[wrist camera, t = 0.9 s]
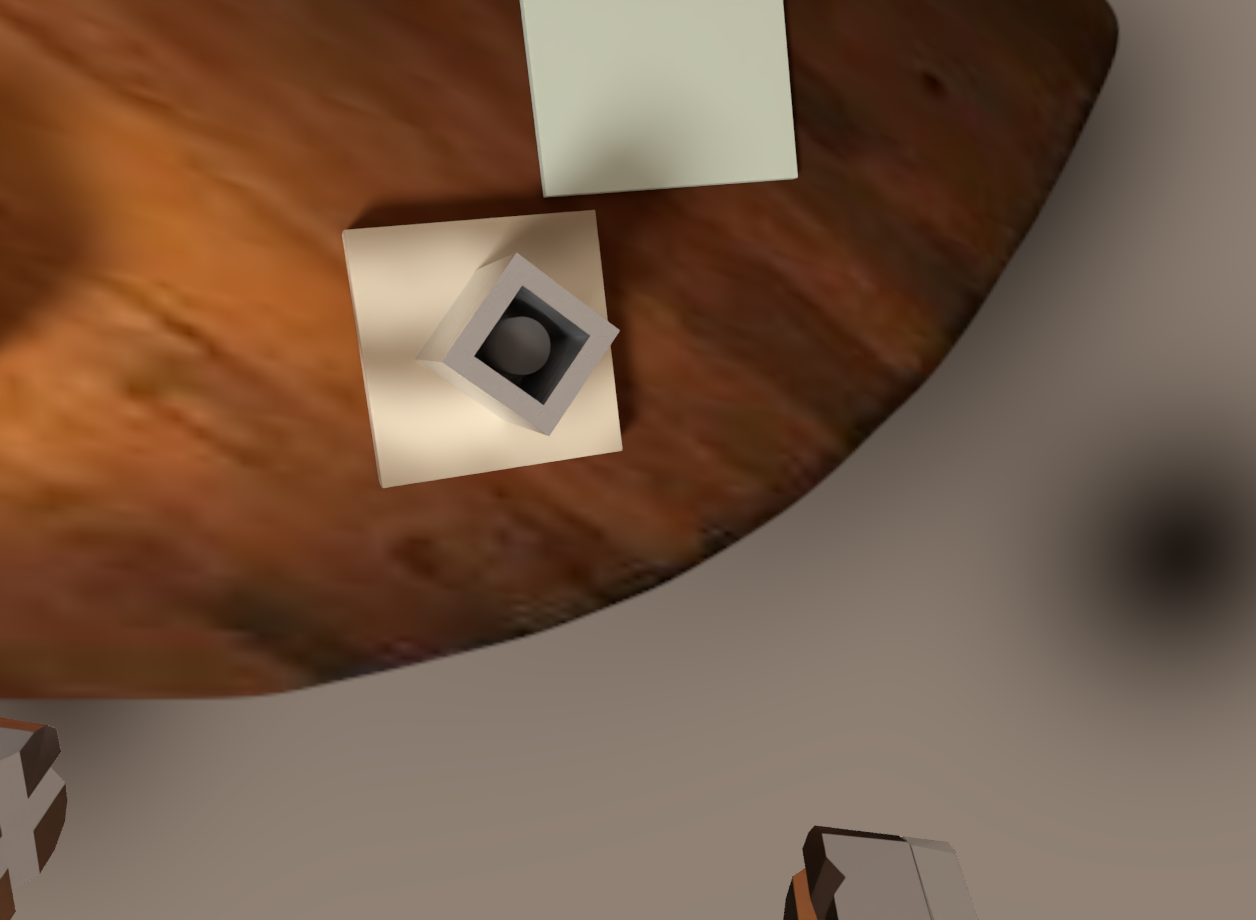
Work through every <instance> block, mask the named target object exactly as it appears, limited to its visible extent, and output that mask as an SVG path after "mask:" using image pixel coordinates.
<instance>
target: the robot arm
mask: <svg viewBox="0 0 1256 920" xmlns="http://www.w3.org/2000/svg"><path fill="white" fill-rule="evenodd" d="M60 753H61V749H60V744H59V739H58V734H57V729H56V728H53V727H51V726H48V725H44V724H38V723H32V722H25V721H19V720H13V719H6V718H0V920H11V918H12V917H13V915H14V914H15V912H16V910H15V905H14V900H13V893H12V891H13V890H14V889H16V888H18V887H19V886H21V885H23V884H24V883H26V882H28V881H29V880H31V879H32V878H34V877H36V876H37V875H39V874H40V873H41V871H42V870H43V868H44V866H45V865H46V863H47V862H48V860H49V858H50V857H51V855H52V853H53V852H54V850H55V848H56V845H57V842H58V839H59V836H60V834H61V831H62V828H63V826H64V822H65V818H66V808H67V792H66V783H65V782H64V781H63V780H62V779H61V778H60V777H59V776H58V775H57V774H56V773H55V772H54V770H53V769H51V766H52V764H53V763H54V761H55V760H56V758H57V757H58V756H59V754H60ZM802 850H803V856H804V863H805V869H803V870H802V871H800V872H799V873H797V874H796V875H794V876H793V877H792V879H791V883H790V886H789V889H788V892H787V896H786V900H785V908H784V917H783V920H978V917H977V914H976V911H975V908H974V905H973V902H972V899H971V896H970V894H969V890H968V887H967V885H966V882H965V879H964V876H963V873H962V870H961V867H960V864H959V862H958V858H957V855H956V852H955V850H954V849H953V848H952V847H951V845H950V844H949V843H948V842H943V841H935V840H927V839H919V838H911V837H900V836H897V835H889V834H881V833H873V832H864V831H856V830H848V829H839V828H831V827H823V826H814V827H813V828H812V829H811V830H810V831H809V833H808V835H807V837H806V840H805V843H804V845H803V848H802Z"/></svg>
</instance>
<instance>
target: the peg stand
mask: <svg viewBox="0 0 1256 920" xmlns="http://www.w3.org/2000/svg"><path fill="white" fill-rule="evenodd" d="M342 238H343V245H344V251H345V258H346V265H347V271H348V278H349V285H350V291H351V298H352V304H353V311H354V318H355V324H356V331H357V338H358V344H359V351H360V358H361V364H362V371H363V378H364V384H365V391H366V398H367V404H368V411H369V417H370V424H371V431H372V437H373V444H374V451H375V457H376V464H377V471H378V477H379V483H380V485H381V486H382V488H386V487H393V486H399V485H405V484H412V483H418V482H424V481H431V480H437V479H444V478H450V477H456V476H463V475H469V474H476V473H482V472H488V471H495V470H501V469H507V468H514V467H520V466H527V465H533V464H539V463H546V462H552V461H558V460H565V459H571V458H578V457H584V456H590V455H597V454H603V453H609V452H616V451H622V442H621V433H620V425H619V416H618V407H617V398H616V389H615V381H614V372H613V363H612V354H611V345H610V346H609V348H608V349H607V351H606V352H605V354H604V355H603V357H602V358H601V360H600V361H599V363H598V364H597V366H596V367H595V369H594V370H593V372H592V373H591V375H590V376H589V378H588V379H587V381H586V382H585V384H584V385H583V387H582V388H581V390H580V391H579V393H578V394H577V396H576V397H575V399H574V400H573V402H572V403H571V404H570V406H569V407H568V409H567V410H566V412H565V413H564V415H563V416H562V418H561V419H560V421H559V422H558V424H557V425H556V427H555V428H554V430H553V431H552V433H551V434H550V436H547V435H544V434H541V433H538V432H535V431H532V430H529V429H526V428H523V427H521V426H518V425H515V424H512V423H509V422H506V421H504V420H502V419H501V418H499V417H498V416H497V415H495V414H494V413H492V412H491V411H489V410H488V409H486V408H485V407H483V406H482V405H480V404H479V403H478V402H476V401H475V400H473V399H472V398H470V397H469V396H467V395H466V394H464V393H463V392H462V391H460V390H459V389H457V388H456V387H454V386H453V385H451V384H450V383H448V382H447V381H445V380H444V379H443V378H441V377H440V376H438V375H437V374H435V373H434V372H432V371H431V370H429V369H428V368H427V367H425V366H424V365H422V364H421V363H419V362H418V361H416V360H415V359H416V357H417V356H418V354H419V353H420V351H421V350H422V348H423V347H424V345H425V344H426V343H427V341H428V340H429V338H430V337H431V335H432V334H433V332H434V331H435V330H436V328H437V327H438V325H439V324H440V322H441V321H442V319H443V318H444V317H445V315H446V314H447V312H448V311H449V309H450V308H451V306H452V305H453V303H454V302H455V301H456V299H457V298H458V296H459V295H460V293H461V292H462V290H463V289H464V288H465V286H466V285H467V283H468V282H469V280H470V279H471V277H472V276H473V274H474V273H475V272H476V270H477V269H479V268H482V267H484V266H486V265H489V264H491V263H493V262H496V261H498V260H500V259H503V258H505V257H507V256H510V255H512V254H514V253H518V254H519V255H521V256H522V257H523V258H525V259H526V260H527V261H529V262H530V263H531V264H533V265H534V266H535V267H537V268H538V269H539V270H541V271H542V272H543V273H545V274H546V275H547V276H548V277H550V278H551V279H552V280H554V281H555V282H556V283H558V284H559V285H560V286H562V287H563V288H564V289H566V290H567V291H568V292H570V293H571V294H572V295H574V296H575V297H576V298H578V299H579V300H580V301H582V302H583V303H584V304H586V305H587V306H588V307H590V308H591V309H592V310H594V311H595V312H596V313H597V314H599V315H600V316H601V317H603V318H604V319H605V320H607V321H608V319H607V310H606V301H605V293H604V284H603V275H602V266H601V257H600V249H599V240H598V231H597V222H596V213H595V210H587V211H574V212H562V213H549V214H537V215H524V216H512V217H499V218H487V219H474V220H462V221H449V222H437V223H424V224H412V225H400V226H387V227H375V228H362V229H350V230H344V231H343V234H342ZM549 353H550V339H549V336H548V333H547V331H546V330H545V328H544V327H543V326H542V325H541V324H540V323H539V322H537V321H536V320H534V319H531V318H528V317H515V318H511V317H509V316H508V315H507V314H505V313H503V314H502V316H501V317H500V319H499V320H498V322H497V323H496V325H495V326H494V327H493V329H492V330H491V332H490V333H489V335H488V336H487V338H486V339H485V341H484V342H483V344H482V345H481V346H480V348H479V349H478V351H477V352H476V354H475V355H474V357H476V358H477V359H479V360H480V361H481V362H483V363H484V364H486V365H487V366H489V367H490V368H491V369H493V370H494V371H496V372H497V373H499V374H500V375H501V376H503V377H504V378H506V379H507V380H508V381H510V380H511V378H512V377H513V375H514V374H518V375H527V374H531V373H533V372H536V371H537V370H539V369H540V368H541V367H542V366H543V365H544V364H545V362H546V361H547V359H548V356H549Z"/></svg>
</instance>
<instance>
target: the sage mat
mask: <svg viewBox="0 0 1256 920" xmlns="http://www.w3.org/2000/svg"><path fill="white" fill-rule="evenodd" d="M520 7H521V15H522V24H523V32H524V40H525V48H526V57H527V65H528V73H529V81H530V90H531V98H532V106H533V115H534V123H535V131H536V139H537V148H538V156H539V164H540V173H541V181H542V189H543V197H544V198H547V197H560V196H574V195H587V194H600V193H614V192H627V191H640V190H654V189H667V188H680V187H693V186H707V185H720V184H733V183H747V182H760V181H773V180H786V179H794V178H797V177H798V174H797V162H796V150H795V138H794V126H793V114H792V102H791V90H790V79H789V67H788V55H787V43H786V31H785V19H784V7H783V0H520Z"/></svg>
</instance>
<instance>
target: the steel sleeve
mask: <svg viewBox="0 0 1256 920" xmlns="http://www.w3.org/2000/svg"><path fill="white" fill-rule="evenodd" d="M503 313H505V314H507V315H508V316H509V317H511V318H515V317H528V318H531V319H534V320H536V321H537V322H539V323H540V324H541V325H542V326H543V327H544V328H545V330H546V331H547V333H548V336H549V339H550V353H549V356H548V359H547V361H546V362H545V364H544V365H543V366H542V367H541V368H540V369H539V370H537V371H536V372H533V373H531V374H527V375H518V374H514V375H513V377H512V378H511V380H510V381H508V380H507V379H506V378H504V377H503V376H501V375H500V374H499V373H497V372H496V371H494V370H493V369H491V368H490V367H489V366H487V365H486V364H484V363H483V362H481V361H480V360H479V359H477V358H476V357H474V355H475V354H476V352H477V351H478V349H479V348H480V346H481V345H482V344H483V342H484V341H485V339H486V338H487V336H488V335H489V333H490V332H491V330H492V329H493V327H494V326H495V325H496V323H497V322H498V320H499V319H500V317H501V316H502V314H503ZM619 331H620V330H619V329H617V328H616V327H615V326H613V325H612V324H611V323H609V322H608V321H607V320H605V319H604V318H603V317H601V316H600V315H599V314H597V313H596V312H595V311H594V310H592V309H591V308H590V307H588V306H587V305H586V304H584V303H583V302H582V301H580V300H579V299H578V298H576V297H575V296H574V295H572V294H571V293H570V292H568V291H567V290H566V289H564V288H563V287H562V286H560V285H559V284H558V283H556V282H555V281H554V280H552V279H551V278H550V277H548V276H547V275H546V274H545V273H543V272H542V271H541V270H539V269H538V268H537V267H535V266H534V265H533V264H531V263H530V262H529V261H527V260H526V259H525V258H523V257H522V256H521V255H519V254H518V253H514V254H512V255H510V256H507V257H505V258H503V259H500V260H498V261H496V262H493V263H491V264H489V265H486V266H484V267H482V268H479V269H477V270H476V272H475V273H474V274H473V276H472V277H471V279H470V280H469V282H468V283H467V285H466V286H465V288H464V289H463V290H462V292H461V293H460V295H459V296H458V298H457V299H456V301H455V302H454V303H453V305H452V306H451V308H450V309H449V311H448V312H447V314H446V315H445V317H444V318H443V319H442V321H441V322H440V324H439V325H438V327H437V328H436V330H435V331H434V332H433V334H432V335H431V337H430V338H429V340H428V341H427V343H426V344H425V345H424V347H423V348H422V350H421V351H420V353H419V354H418V356H417V357H416V359H415V360H416V361H418V362H419V363H421V364H422V365H424V366H425V367H427V368H428V369H429V370H431V371H432V372H434V373H435V374H437V375H438V376H440V377H441V378H443V379H444V380H445V381H447V382H448V383H450V384H451V385H453V386H454V387H456V388H457V389H459V390H460V391H462V392H463V393H464V394H466V395H467V396H469V397H470V398H472V399H473V400H475V401H476V402H478V403H479V404H480V405H482V406H483V407H485V408H486V409H488V410H489V411H491V412H492V413H494V414H495V415H497V416H498V417H499V418H501V419H502V420H504V421H506V422H509V423H512V424H515V425H518V426H521V427H523V428H526V429H529V430H532V431H535V432H538V433H541V434H544V435H547V436H550V434H551V433H552V431H553V430H554V428H555V427H556V425H557V424H558V422H559V421H560V419H561V418H562V416H563V415H564V413H565V412H566V410H567V409H568V407H569V406H570V404H571V403H572V402H573V400H574V399H575V397H576V396H577V394H578V393H579V391H580V390H581V388H582V387H583V385H584V384H585V382H586V381H587V379H588V378H589V376H590V375H591V373H592V372H593V370H594V369H595V367H596V366H597V364H598V363H599V361H600V360H601V358H602V357H603V355H604V354H605V352H606V351H607V349H608V348H609V346H610V345H611V343H612V342H613V340H614V339H615V337H616V336H617V334H618V333H619Z"/></svg>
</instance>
